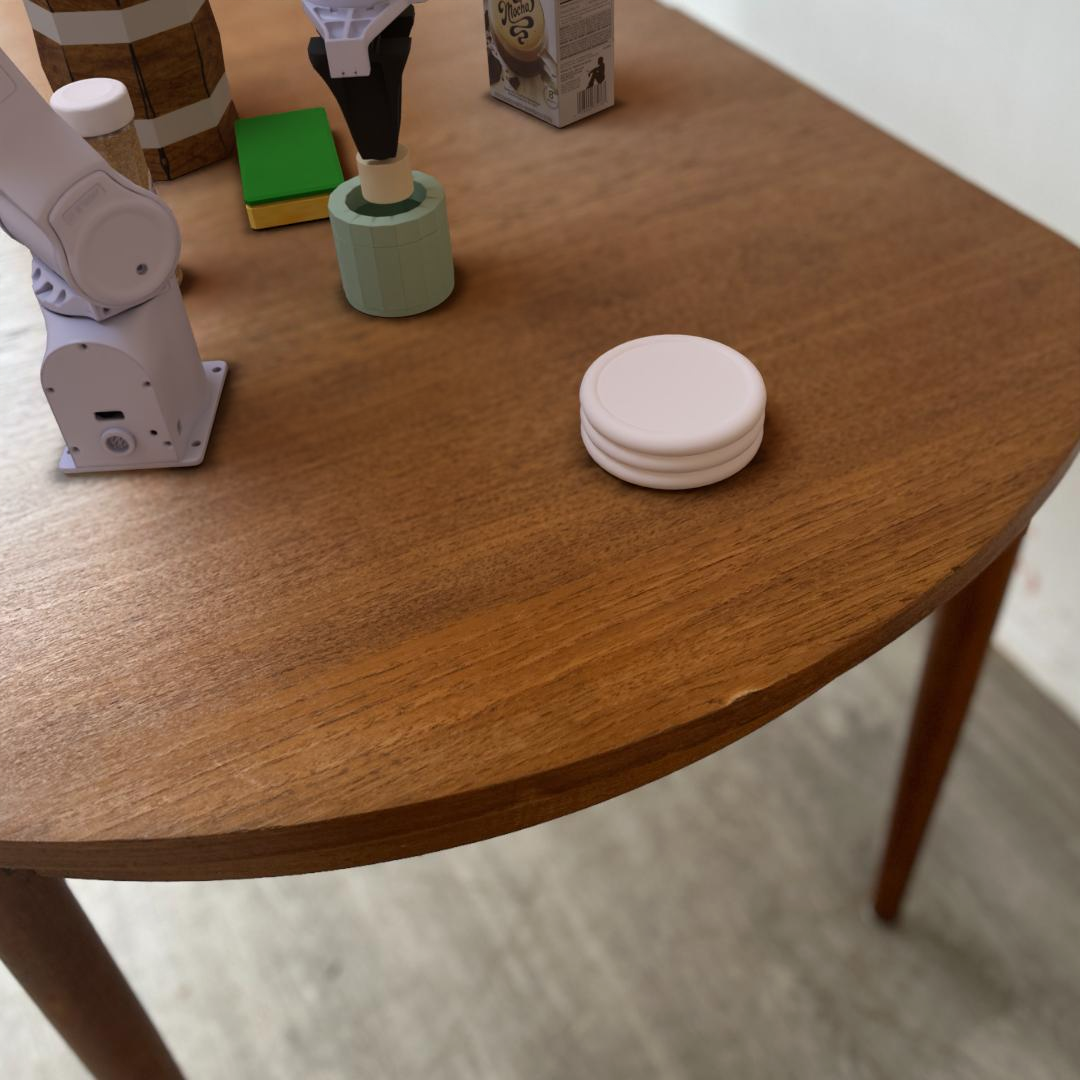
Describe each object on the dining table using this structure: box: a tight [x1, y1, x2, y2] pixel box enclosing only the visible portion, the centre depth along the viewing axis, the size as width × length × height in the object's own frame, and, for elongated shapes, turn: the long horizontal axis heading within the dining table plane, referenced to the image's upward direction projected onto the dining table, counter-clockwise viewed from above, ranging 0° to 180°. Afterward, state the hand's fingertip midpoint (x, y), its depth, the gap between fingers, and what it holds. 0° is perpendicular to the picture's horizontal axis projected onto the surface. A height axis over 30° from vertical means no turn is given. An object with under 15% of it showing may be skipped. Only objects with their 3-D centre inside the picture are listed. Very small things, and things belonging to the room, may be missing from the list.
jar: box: [328, 169, 456, 318], centre depth 76 cm, size 7×7×6 cm
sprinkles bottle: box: [49, 78, 184, 287], centre depth 75 cm, size 5×5×13 cm
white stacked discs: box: [578, 334, 768, 491], centre depth 65 cm, size 10×10×4 cm
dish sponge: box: [234, 106, 346, 230], centre depth 89 cm, size 7×14×2 cm, turn 14°
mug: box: [22, 0, 241, 181], centre depth 93 cm, size 20×14×15 cm
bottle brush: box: [355, 36, 414, 204], centre depth 70 cm, size 3×3×11 cm
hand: (380, 147), depth 72 cm, fingers closed on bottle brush, 2 cm apart
